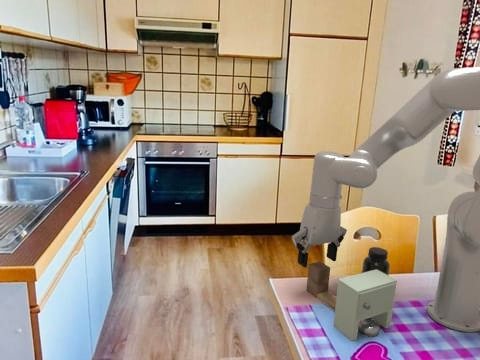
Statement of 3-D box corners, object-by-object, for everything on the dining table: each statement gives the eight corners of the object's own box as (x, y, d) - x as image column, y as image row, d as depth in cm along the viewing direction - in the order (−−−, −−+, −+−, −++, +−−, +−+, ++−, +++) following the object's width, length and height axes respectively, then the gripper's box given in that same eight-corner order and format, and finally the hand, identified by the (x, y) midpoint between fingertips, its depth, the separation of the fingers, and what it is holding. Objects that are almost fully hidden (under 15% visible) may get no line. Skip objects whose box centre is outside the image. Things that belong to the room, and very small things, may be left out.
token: (368, 324, 92) (369, 316, 92) (382, 334, 89) (383, 327, 88) (354, 329, 90) (355, 321, 90) (368, 340, 87) (369, 332, 86)
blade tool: (318, 288, 108) (320, 261, 106) (355, 315, 96) (359, 285, 94) (306, 291, 106) (308, 264, 104) (343, 319, 94) (346, 289, 92)
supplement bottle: (364, 297, 104) (369, 255, 101) (356, 284, 111) (361, 245, 108) (390, 297, 104) (395, 256, 102) (380, 284, 111) (385, 245, 108)
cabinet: (370, 313, 97) (376, 269, 94) (394, 329, 90) (401, 282, 88) (333, 326, 91) (338, 279, 88) (355, 344, 85) (361, 294, 82)
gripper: (340, 193, 106) (332, 251, 111) (288, 199, 98) (281, 261, 103) (360, 201, 100) (351, 263, 104) (306, 208, 92) (298, 274, 96)
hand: (316, 262), depth 103 cm, fingers open, 9 cm apart
